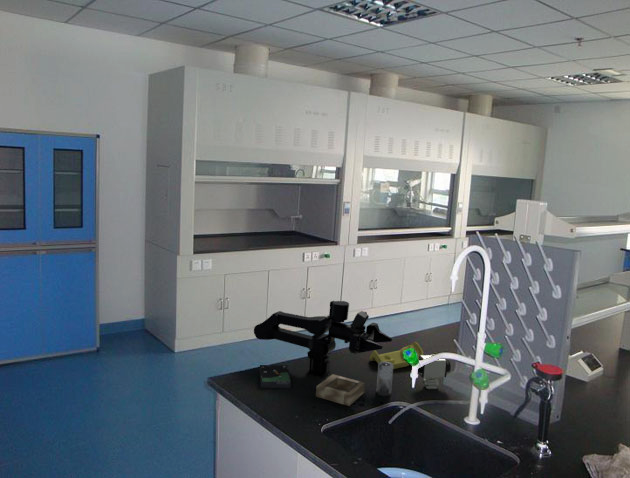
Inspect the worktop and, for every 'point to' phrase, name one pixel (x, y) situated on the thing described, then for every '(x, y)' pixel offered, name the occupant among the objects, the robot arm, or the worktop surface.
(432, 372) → the pneumatic valve
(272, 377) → the disk drive
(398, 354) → the plastic component
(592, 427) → the worktop surface
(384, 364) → the bushing
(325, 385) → the square wooden tray
